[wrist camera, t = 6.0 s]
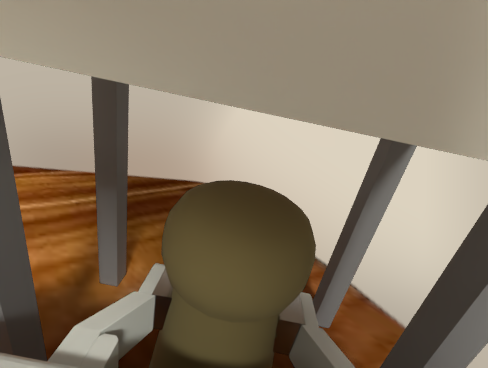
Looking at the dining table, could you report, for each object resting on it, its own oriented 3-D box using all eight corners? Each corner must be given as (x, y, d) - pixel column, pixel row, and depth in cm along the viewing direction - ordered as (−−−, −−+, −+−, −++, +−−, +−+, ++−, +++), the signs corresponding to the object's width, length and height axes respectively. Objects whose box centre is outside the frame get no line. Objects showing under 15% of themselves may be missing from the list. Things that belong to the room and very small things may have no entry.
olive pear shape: (160, 328, 15) (176, 154, 11) (259, 339, 15) (311, 177, 11) (115, 479, 9) (109, 240, 5) (272, 486, 10) (385, 278, 6)
